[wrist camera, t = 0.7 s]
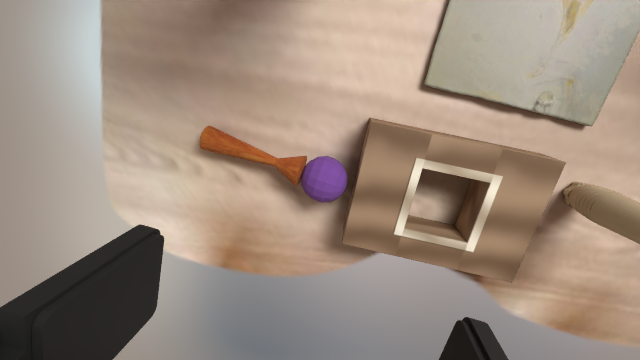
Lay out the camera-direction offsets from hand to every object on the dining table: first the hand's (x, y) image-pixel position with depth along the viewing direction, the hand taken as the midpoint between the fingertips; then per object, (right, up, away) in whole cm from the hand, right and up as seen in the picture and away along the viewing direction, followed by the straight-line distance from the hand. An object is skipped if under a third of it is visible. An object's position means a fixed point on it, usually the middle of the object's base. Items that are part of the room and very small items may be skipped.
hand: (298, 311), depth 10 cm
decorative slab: (+26, +26, +25) cm, 45 cm away
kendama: (-5, +7, +34) cm, 35 cm away
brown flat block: (+16, +2, +33) cm, 37 cm away
